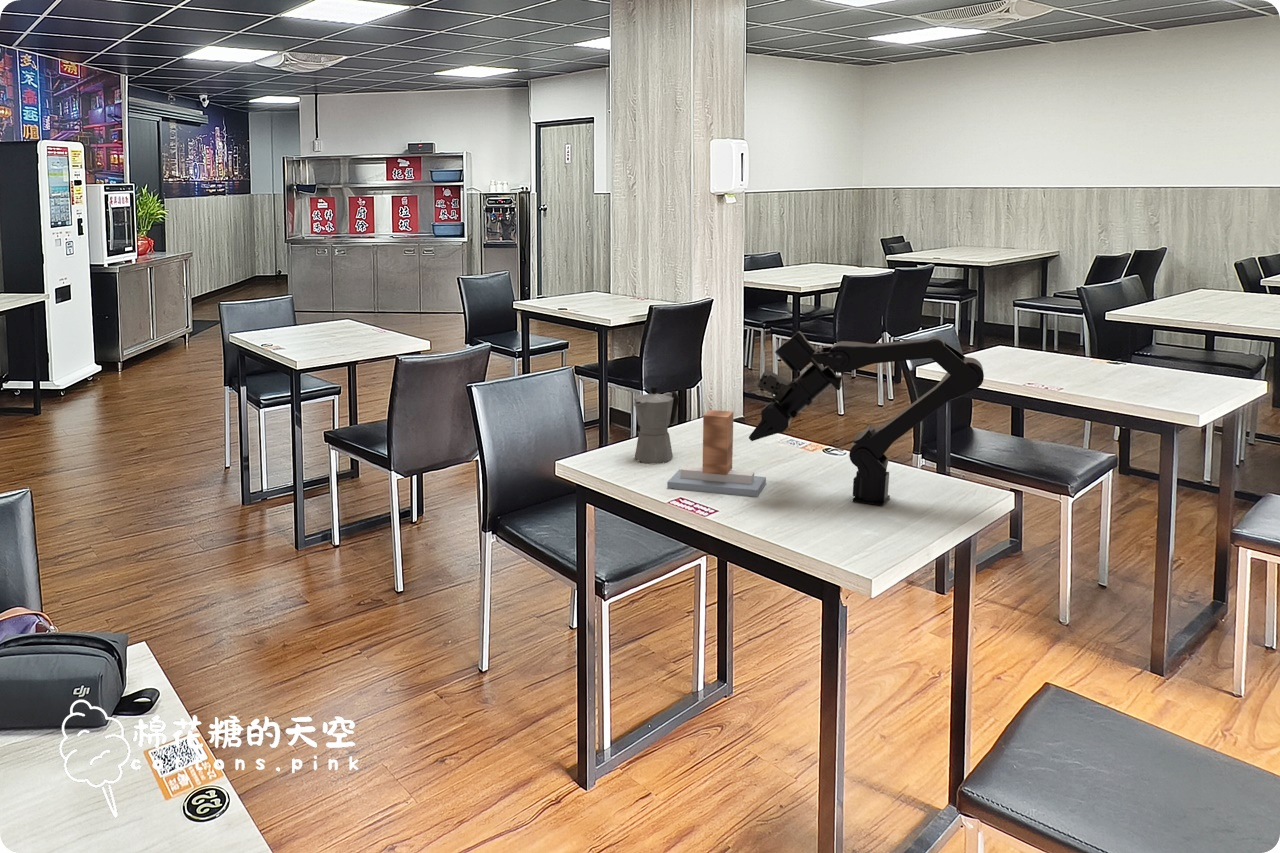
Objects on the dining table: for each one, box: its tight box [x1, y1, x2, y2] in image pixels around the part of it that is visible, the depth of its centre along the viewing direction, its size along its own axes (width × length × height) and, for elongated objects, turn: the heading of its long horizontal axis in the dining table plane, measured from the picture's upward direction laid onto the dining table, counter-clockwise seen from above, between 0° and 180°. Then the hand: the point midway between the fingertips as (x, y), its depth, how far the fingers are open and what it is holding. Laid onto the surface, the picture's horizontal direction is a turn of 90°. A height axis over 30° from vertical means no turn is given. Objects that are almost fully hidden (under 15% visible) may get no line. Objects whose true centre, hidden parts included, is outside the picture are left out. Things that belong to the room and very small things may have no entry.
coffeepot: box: [633, 385, 680, 464], centre depth 243 cm, size 15×9×18 cm, turn 137°
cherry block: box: [702, 409, 735, 475], centre depth 221 cm, size 5×5×13 cm
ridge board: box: [666, 465, 767, 498], centre depth 223 cm, size 20×10×4 cm, turn 72°
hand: (754, 434), depth 218 cm, fingers open, 9 cm apart
